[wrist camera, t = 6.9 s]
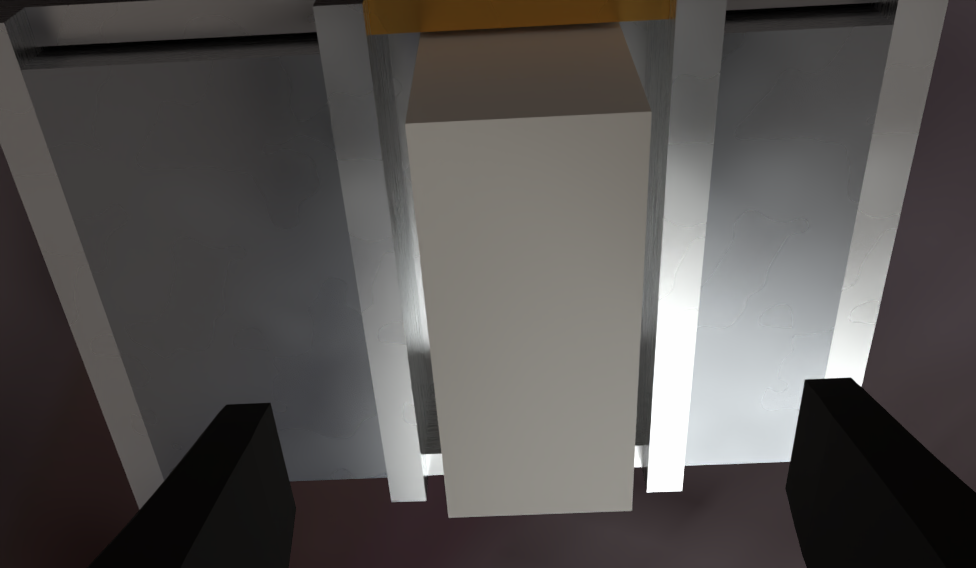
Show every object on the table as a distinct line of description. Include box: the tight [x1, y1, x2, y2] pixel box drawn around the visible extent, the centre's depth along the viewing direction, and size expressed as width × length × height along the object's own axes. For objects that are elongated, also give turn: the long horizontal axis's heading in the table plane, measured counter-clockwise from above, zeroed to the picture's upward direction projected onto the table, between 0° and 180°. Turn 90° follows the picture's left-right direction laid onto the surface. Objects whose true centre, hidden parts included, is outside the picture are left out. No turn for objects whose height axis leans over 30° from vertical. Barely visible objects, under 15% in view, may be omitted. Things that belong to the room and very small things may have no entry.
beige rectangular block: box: [405, 22, 652, 518], centre depth 15 cm, size 7×3×5 cm, turn 3°
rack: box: [0, 0, 948, 510], centre depth 17 cm, size 10×14×3 cm
